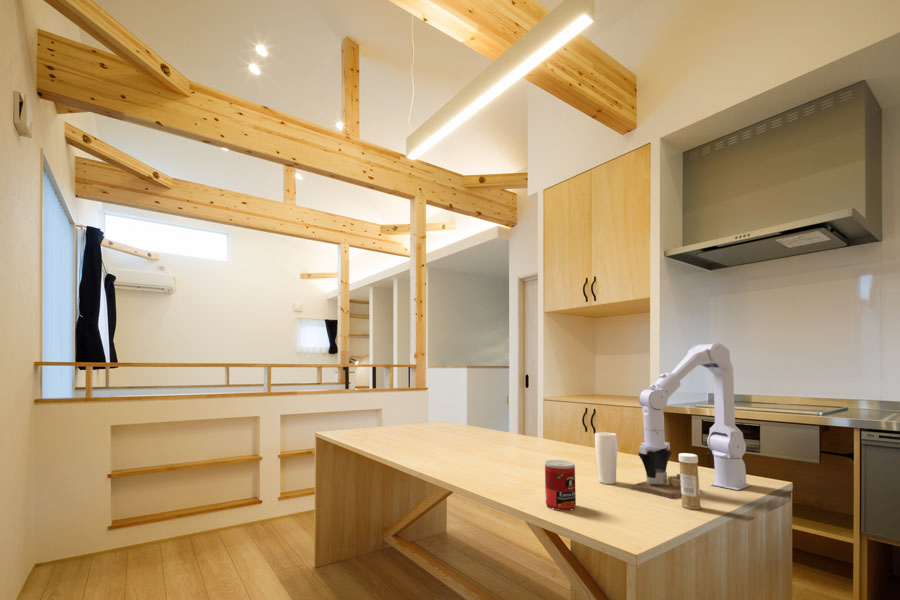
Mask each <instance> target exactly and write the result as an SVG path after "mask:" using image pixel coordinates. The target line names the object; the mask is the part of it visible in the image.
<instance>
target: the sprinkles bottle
mask: <svg viewBox="0 0 900 600" xmlns="http://www.w3.org/2000/svg"><path fill="white" fill-rule="evenodd" d="M678 461H679V462H678V463H679V474H680V480H681V494H682V495H681V506H682V508H685V509H688V510H701V509H702V508H701V507H702V505H701V497H700V494H701V492H700V491H701V490H700V482H699V479H700V478H699V467H698V463H699V456H698V455H697V454H696V453H695V454H694V453H687V452H681V453H678Z"/></svg>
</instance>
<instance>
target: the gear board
mask: <svg viewBox="0 0 900 600" xmlns="http://www.w3.org/2000/svg"><path fill="white" fill-rule="evenodd" d="M633 489H634V491H637V492H638V491H639V492H643V493H647V494H650V493H651V495H656V496H660V497H664V498H667V499H674V498H678V497H682V494H681V480H680V473H676V475H675V474H674V475H667V484H653V483H649V482H648V481H647V480H646V481H642V482H638V483H634V484H631V490H633Z"/></svg>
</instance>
